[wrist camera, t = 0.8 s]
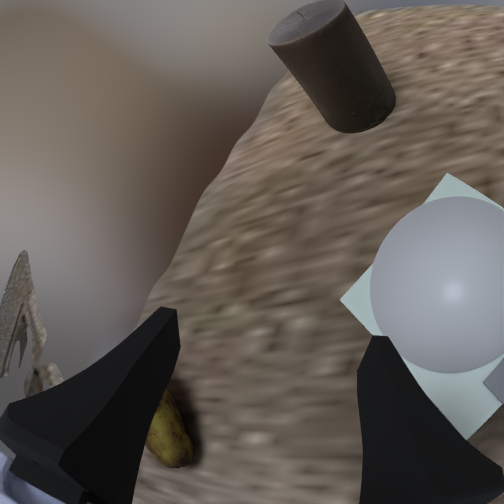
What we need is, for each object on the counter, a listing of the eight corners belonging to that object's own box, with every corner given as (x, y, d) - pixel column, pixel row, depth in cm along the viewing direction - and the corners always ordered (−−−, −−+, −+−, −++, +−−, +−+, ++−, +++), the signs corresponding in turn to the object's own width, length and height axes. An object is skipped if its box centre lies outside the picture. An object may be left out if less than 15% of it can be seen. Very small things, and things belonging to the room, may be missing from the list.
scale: (584, 282, 14) (592, 271, 12) (466, 438, 16) (466, 442, 15) (444, 178, 26) (440, 162, 24) (341, 299, 28) (330, 291, 26)
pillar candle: (390, 131, 32) (326, 19, 21) (317, 135, 38) (244, 46, 28) (400, 78, 34) (347, -21, 23) (335, 86, 40) (276, 3, 30)
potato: (160, 467, 32) (103, 466, 26) (152, 373, 39) (100, 360, 34) (207, 466, 28) (145, 469, 23) (195, 358, 36) (138, 342, 30)
